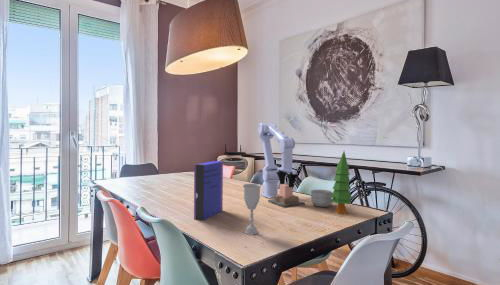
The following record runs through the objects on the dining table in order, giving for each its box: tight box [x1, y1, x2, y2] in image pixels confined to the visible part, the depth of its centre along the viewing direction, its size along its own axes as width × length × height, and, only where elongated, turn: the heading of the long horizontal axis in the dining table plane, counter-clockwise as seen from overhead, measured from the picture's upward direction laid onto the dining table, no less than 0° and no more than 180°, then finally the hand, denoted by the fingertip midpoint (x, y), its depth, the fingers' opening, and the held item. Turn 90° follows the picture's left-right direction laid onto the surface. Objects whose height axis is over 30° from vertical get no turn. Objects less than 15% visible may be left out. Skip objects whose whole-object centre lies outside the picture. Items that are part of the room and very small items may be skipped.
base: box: [267, 194, 306, 208], centre depth 161 cm, size 14×14×4 cm
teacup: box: [310, 189, 334, 208], centre depth 156 cm, size 14×11×8 cm
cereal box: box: [193, 160, 224, 221], centre depth 138 cm, size 17×5×24 cm, turn 157°
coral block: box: [278, 183, 294, 197], centre depth 161 cm, size 5×5×6 cm
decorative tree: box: [331, 151, 352, 215], centre depth 144 cm, size 10×9×30 cm
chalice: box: [242, 183, 262, 235], centre depth 114 cm, size 7×7×18 cm
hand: (286, 185), depth 161 cm, fingers open, 7 cm apart
